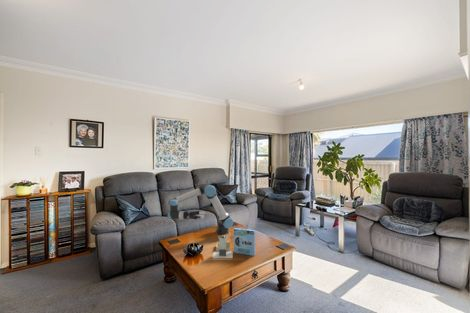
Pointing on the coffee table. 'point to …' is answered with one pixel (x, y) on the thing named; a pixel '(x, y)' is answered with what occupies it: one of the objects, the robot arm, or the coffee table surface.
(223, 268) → the coffee table surface
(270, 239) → the coffee table surface
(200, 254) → the coffee table surface
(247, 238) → the gum box
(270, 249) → the coffee table surface
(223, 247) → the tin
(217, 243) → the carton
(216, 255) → the board
